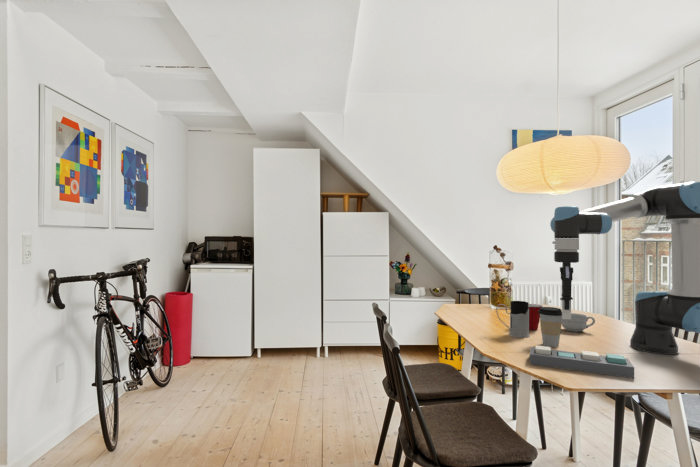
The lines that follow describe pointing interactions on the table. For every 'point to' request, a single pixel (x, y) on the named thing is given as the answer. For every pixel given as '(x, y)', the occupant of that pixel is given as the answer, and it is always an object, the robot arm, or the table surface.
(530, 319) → the plastic cup
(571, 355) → the teal key
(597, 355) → the white key
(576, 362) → the keyboard
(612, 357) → the teal key
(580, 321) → the teacup
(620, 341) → the table surface
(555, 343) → the coffee cup
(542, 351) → the white key
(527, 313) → the grey and black mug
